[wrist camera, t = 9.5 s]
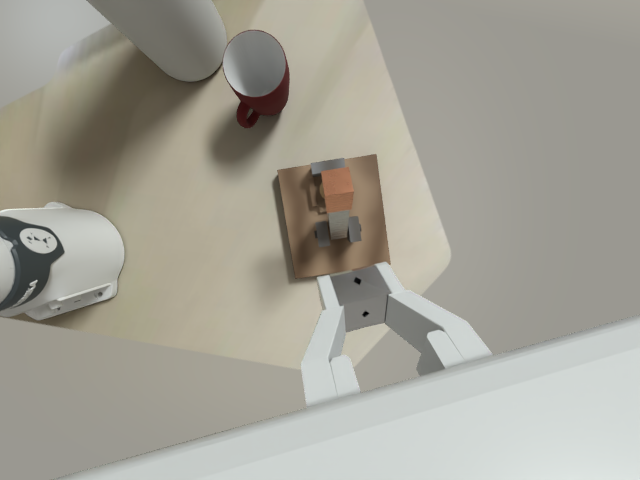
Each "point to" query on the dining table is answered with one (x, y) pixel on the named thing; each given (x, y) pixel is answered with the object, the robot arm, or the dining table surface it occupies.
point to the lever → (338, 200)
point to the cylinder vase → (171, 33)
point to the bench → (312, 223)
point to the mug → (256, 75)
